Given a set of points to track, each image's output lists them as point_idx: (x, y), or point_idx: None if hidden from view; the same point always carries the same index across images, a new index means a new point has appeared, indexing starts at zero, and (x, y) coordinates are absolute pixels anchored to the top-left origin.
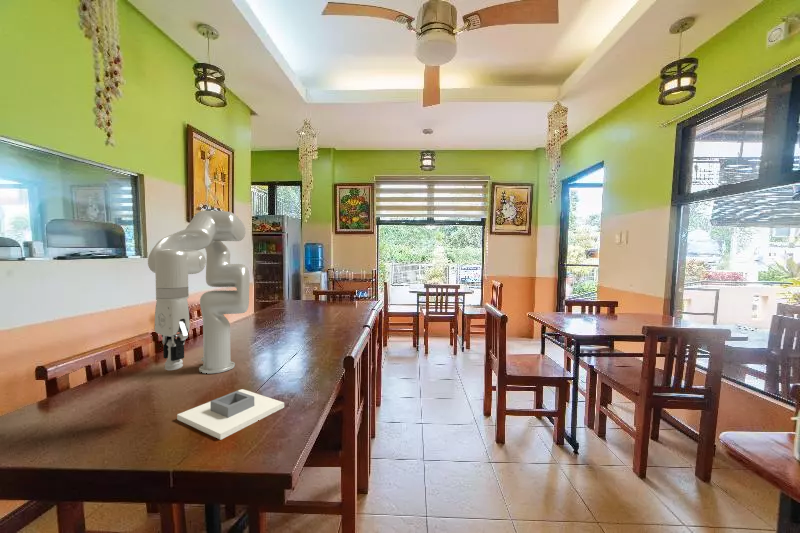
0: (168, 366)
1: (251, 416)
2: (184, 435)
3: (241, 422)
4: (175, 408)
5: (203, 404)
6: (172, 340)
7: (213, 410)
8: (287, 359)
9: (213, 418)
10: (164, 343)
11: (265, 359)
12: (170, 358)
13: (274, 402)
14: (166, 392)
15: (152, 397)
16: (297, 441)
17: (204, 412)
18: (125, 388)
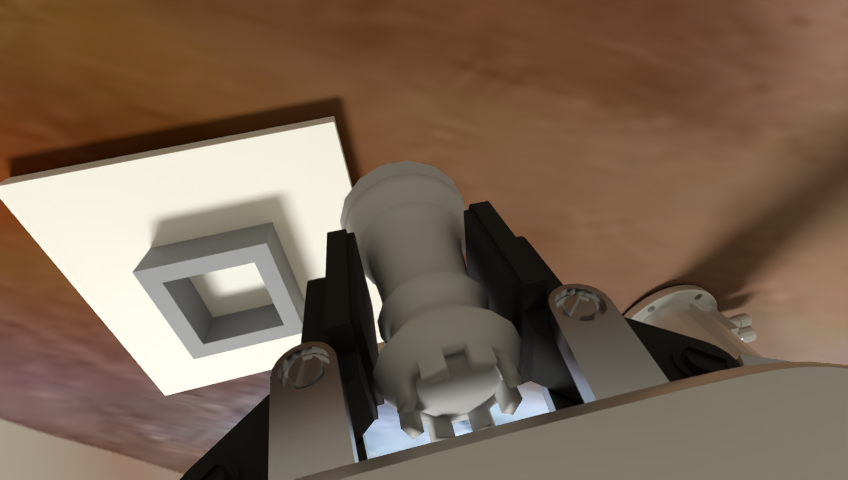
0: (373, 187)
1: (106, 304)
2: (149, 91)
3: (68, 268)
4: (451, 141)
5: None
6: (321, 420)
7: (251, 229)
8: None
9: (182, 209)
10: (549, 298)
11: None
12: (384, 235)
13: (187, 377)
14: (629, 160)
15: (634, 109)
16: None
17: (271, 202)
18: (822, 57)
